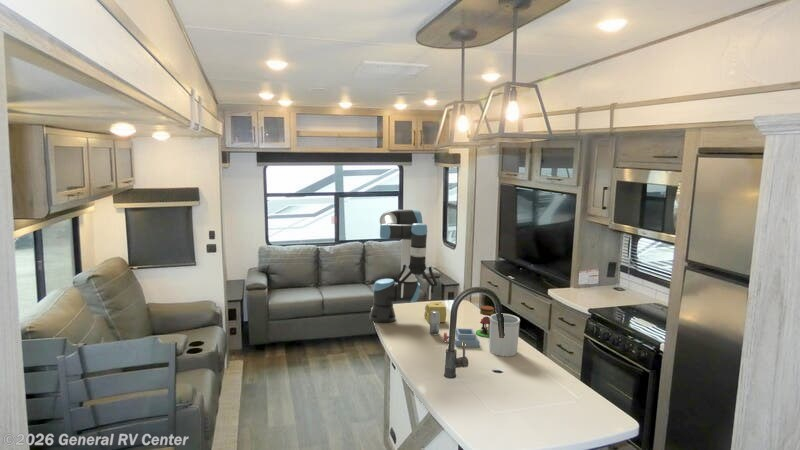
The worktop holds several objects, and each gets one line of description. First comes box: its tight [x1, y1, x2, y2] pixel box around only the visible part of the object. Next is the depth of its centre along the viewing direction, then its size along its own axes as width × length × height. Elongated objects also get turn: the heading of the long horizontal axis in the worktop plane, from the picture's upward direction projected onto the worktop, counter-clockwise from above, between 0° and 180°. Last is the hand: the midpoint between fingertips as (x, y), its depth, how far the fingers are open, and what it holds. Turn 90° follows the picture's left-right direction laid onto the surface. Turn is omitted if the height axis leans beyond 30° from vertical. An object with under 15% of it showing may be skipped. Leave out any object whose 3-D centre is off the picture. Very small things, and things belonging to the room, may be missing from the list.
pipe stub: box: [429, 311, 440, 335], centre depth 267 cm, size 5×5×12 cm
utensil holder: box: [488, 313, 521, 358], centre depth 246 cm, size 15×15×18 cm
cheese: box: [423, 301, 447, 324], centre depth 290 cm, size 10×11×10 cm
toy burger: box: [475, 305, 495, 338], centre depth 270 cm, size 12×13×15 cm
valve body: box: [443, 327, 480, 348], centre depth 258 cm, size 14×17×6 cm
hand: (415, 298), depth 240 cm, fingers open, 13 cm apart
